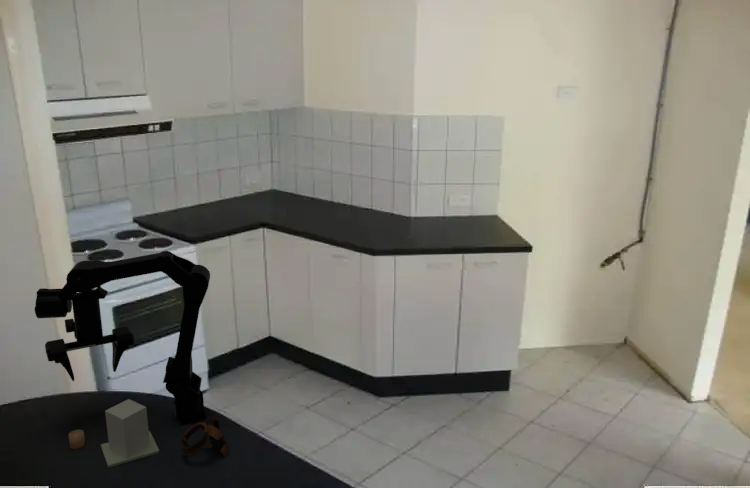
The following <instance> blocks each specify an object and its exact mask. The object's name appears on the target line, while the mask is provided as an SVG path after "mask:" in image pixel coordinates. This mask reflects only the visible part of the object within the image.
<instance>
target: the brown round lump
mask: <svg viewBox="0 0 750 488" xmlns="http://www.w3.org/2000/svg"><path fill="white" fill-rule="evenodd" d="M68 441H69V447H70V449H73V450H77V449H81V448H83V447H84V446H85V445H86V439H85V432H84V430H82V429H75V430H72V431H70V432H69V433H68Z"/></svg>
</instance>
